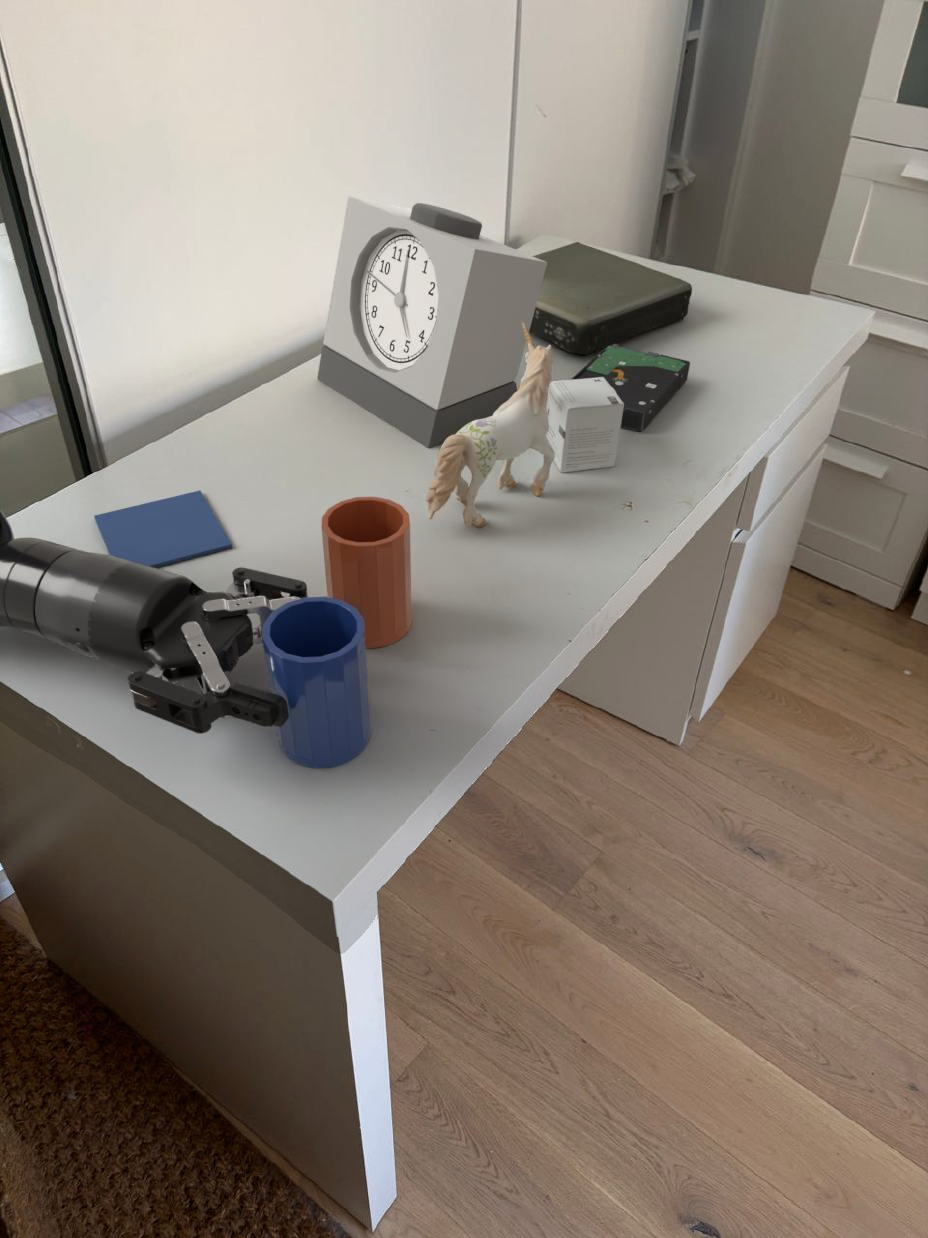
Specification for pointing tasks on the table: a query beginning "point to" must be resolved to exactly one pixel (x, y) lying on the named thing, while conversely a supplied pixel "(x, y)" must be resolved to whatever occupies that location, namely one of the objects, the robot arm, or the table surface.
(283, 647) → the blue cup
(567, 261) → the network switch
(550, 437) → the product carton
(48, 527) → the table surface
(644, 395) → the disk drive
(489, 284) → the alarm clock
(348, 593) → the terracotta cup
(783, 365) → the table surface
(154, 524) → the blue mat
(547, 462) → the unicorn figurine
